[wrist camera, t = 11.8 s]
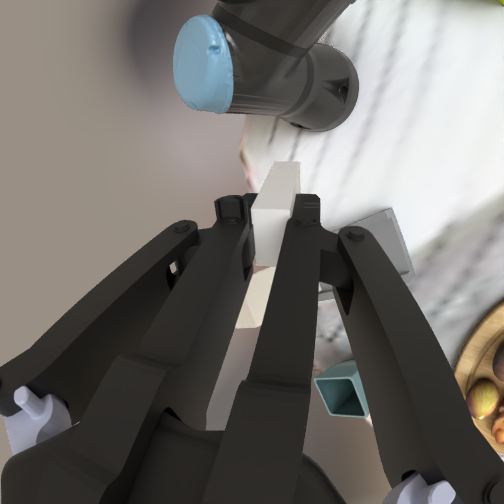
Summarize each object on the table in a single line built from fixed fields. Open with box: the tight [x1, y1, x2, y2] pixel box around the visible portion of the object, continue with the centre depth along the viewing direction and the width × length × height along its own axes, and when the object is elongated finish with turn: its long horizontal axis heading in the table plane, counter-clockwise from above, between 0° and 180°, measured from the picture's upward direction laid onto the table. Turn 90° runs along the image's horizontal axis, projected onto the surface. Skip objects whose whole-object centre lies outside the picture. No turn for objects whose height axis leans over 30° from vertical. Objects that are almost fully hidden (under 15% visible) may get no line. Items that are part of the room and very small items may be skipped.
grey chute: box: [318, 208, 415, 301], centre depth 43 cm, size 10×24×3 cm, turn 121°
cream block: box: [235, 267, 322, 328], centre depth 45 cm, size 7×6×15 cm
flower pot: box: [314, 360, 370, 418], centre depth 42 cm, size 9×9×9 cm
